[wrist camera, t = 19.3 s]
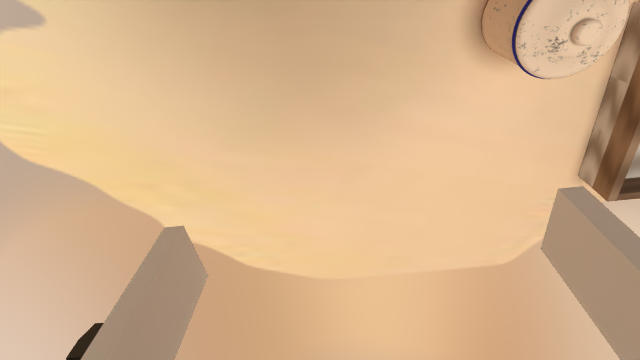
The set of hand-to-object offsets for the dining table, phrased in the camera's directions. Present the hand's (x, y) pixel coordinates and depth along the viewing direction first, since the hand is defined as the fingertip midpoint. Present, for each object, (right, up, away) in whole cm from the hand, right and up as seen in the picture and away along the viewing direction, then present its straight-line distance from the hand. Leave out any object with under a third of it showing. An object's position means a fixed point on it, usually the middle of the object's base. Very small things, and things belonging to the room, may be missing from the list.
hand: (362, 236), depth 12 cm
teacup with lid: (+21, +21, +23) cm, 38 cm away
